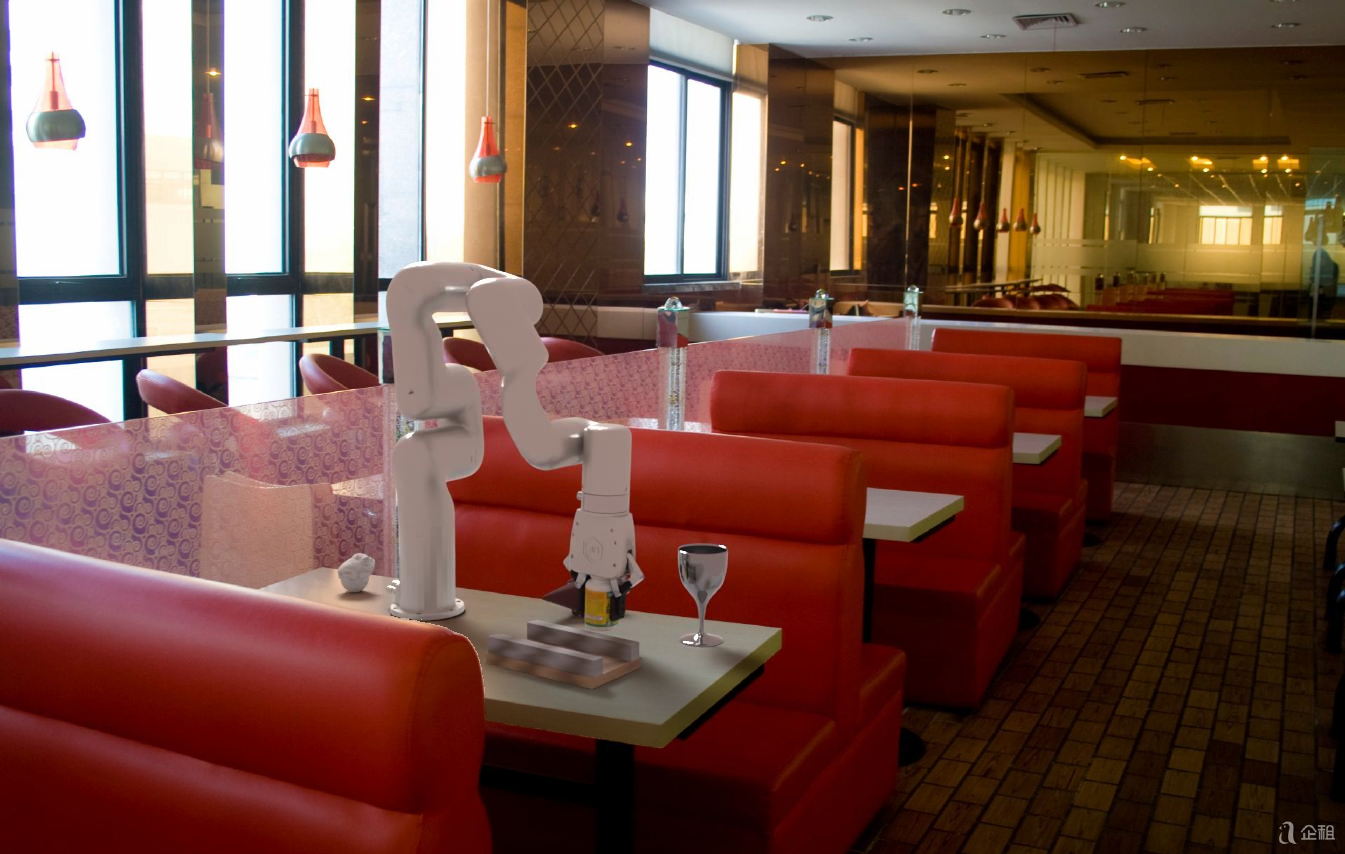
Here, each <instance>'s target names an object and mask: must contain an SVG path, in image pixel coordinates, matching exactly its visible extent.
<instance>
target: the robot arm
mask: <svg viewBox="0 0 1345 854" xmlns="http://www.w3.org/2000/svg"><path fill="white" fill-rule="evenodd" d="M542 297H543V296H542V295H541V292H540V291H539V289H538V288H537V286H536V285H535V284H534V283H532V282H531V281H529V280H528V279H526V278H523V277H521V276H517V275H513V274H510V273H507V272H504V271H501V270H497V269H495V268H492V267H488V266H485V265H482V264H479V263H473V262H459V261H442V260H439V261H438V260H425V261H424V260H423V261H419V262H414V263H410V264H408V265H406V266H404V267H403V268H401V269H399V270H398V272H397V273H396V274H395V275H393V278H392V279H391V281H390V283H389V284H388V287H387V290H386V295H385V309H386V312H385V313H386V317H387V323H388V327H389V332H390V333H389V334H390V338H391V349H392V350H391V351H392V366H393V379H394V380H393V381H394V391H395V401H396V406H397V409H398V412H399V413H400V415H402V417H403V418H405V419H406V420H408V421H413V422H428V421H436V423H437V424H436V425H437V427H429V428H423V429H417V430H414V431H410V432H408V433H406V434H405V435H403V436H401V437H400V438H399V439H398V440H397V441H396V443H395V445H394V446H393V448H392V451H391V456H390V457H391V461H390V463H391V469H392V474H393V479H394V482H395V483H394V484H395V488H396V499H397V525H398V531H397V532H398V580H397V579H396V580H393V581H392V582H391V584H390V585H388V586H387V587H386V590H385V591H386V593H387V594H390V595H394V599H395V601H394V602H393V603H391V604H390V605H389V613H390V614H391V613H393V614H391V615H392V616H393V617H395V616H398V617H402V618H409V619H412V620H411V621H421V622H422V621H438V620H444V619H449V618H453V617H456V616H459V615H461V614H462V613H463V612H464V611H465V602H464V601H463V600H461V599H460V598H457V597H456V512H455V506H454V505H455V504H454V501H453V498H452V495H451V494H450V491H449V489H448V486H447V483H448V482H451V481H455V480H461V479H464V478H467V477H470V476H472V475H474V474H475V473H476V472H477V471H478V470H479V469H480V467H481V465H482V463H483V461H484V455H485V438H484V424H483V422H484V421H483V408H482V405H483V404H482V394H481V390H480V389H481V388H480V386H479V383H478V381H477V379H476V377H475V375H474V374H473V372H472V371H471V370H470V369H469V368H467V367H466V366H464V365H462V364H459V363H453V362H450V363H448V362H446V361H445V360H446V359H445V352H444V341H443V337H442V333H441V330H440V328H439V326H438V324H437V323H436V320H435V319H434V318H433V315H435V314H436V313H467V315H468V317H469V319H470V321H471V324H472V325H473V326H474V328H475V330H476V332H477V334H478V336H479V338H480V339H481V342H482V343H483V345H484V347H485V350H486V351H487V352H488V354H489V357H490V358H491V361H492V363H493V364H494V366H495V368H496V369H497V371H498V373H499V375H500V379H501V385H500V406H501V407H500V408H501V409H500V410H501V415H502V419H503V423H504V425H505V428H506V429H507V431H508V434H509V435H510V438H511V439H512V440H513V443H514V445H515V446H516V448H517V449H518V452H519V453H520V455H521V456H522V458H523V459H524V460H525V461H526V462H527V463H528V464H529V465H530V466H531V467H533V468H536V469H538V470H541V471H550V470H557V469H559V468H565V467H571V466H577V465H579V464H580V465H582V466H581V467H582V471H581V490H579V491H578V492H577V493H576V499H577V500H579V501H581V502H580V508H577V509H576V512H575V514H574V518H573V523H572V528H571V536H570V545H569V553H568V555H567V556H566V557H565V558H564V560H563V565H564V566H565V568H566V569H567V571H568V572H570V576H571V577H572V578H573V579H574V580H575V582H576V583H575V585H576V587H577V588H579V595H578V605H579V609H578V612H579V613H581V614H583V613H584V614H585V586H586V582H587V581H588V580H589V579H591V577H590V575H592V576H596V577H601V578H606V579H610V580H611V585H612V589H613V594H614V595H613V596H611V597H610V617H609V619H610V621H616V620H618V621H619V620H621V619H624V618H625V616H626V615H625V614H626V607H627V604H626V603H627V594H629V593H630V591H631V590H632V589H633V588H634V587H636V586H637V585H638V584H639V583H641V582H642V581H643V580H644V579H645V575H644V573H643V572H642V570H641V568H640V566H639V565H638V563H637V562H636V532H635V525H634V520H633V513H631V512H630V498H631V497H630V496H631V495H630V494H631V492H630V490H631V469H632V467H631V466H632V442H633V441H632V438H633V437H632V436H633V435H632V431H631V429H630V428H629V427H628V426H626V425H623V424H620V423H619V424H618V423H606V422H605V423H604V422H603V423H600V422H597V421H593V420H591V419H587V418H584V417H577V416H574V417H572V416H571V417H566V418H559V419H557V418H556V419H551V420H550V418H549V417H548V415H547V413H546V411H545V409H544V407H543V406H542V404H541V402H540V399H539V397H538V396H539V395H538V392H537V385H536V383H537V377H538V374H539V372H540V371H541V370H542V369H543V368H544V367H545V366H546V365H547V363H548V361H549V357H550V355H549V351H548V348H547V347H546V346H545V344H544V342H543V341H542V338H541V337H540V335H539V333H538V331H537V329H536V327H535V326H534V325H536V324H537V323H538V322H539V321H540V319H541V318H542V315H543V312H544V302H543V298H542ZM628 575H629V576H630V577H629V578H628ZM584 614H583V615H584ZM398 617H397V618H398ZM421 619H422V620H421Z"/></svg>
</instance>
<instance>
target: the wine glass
mask: <svg viewBox="0 0 1345 854" xmlns="http://www.w3.org/2000/svg"><path fill="white" fill-rule="evenodd" d="M728 555H729V550H728V548H727V546H724V545H720V544H715V543H705V542H704V543H702V542H701V543H698V542H696V543H687V544H683V545H680V546H678V548H677V565H678V572H679V577H680V581H681V583H682V585H683V586H684V588H685V589H686V590H687V591H688V593H689V594H690V595H691V597H692V598H693V599H694V601H695V603H696V606H697V610H698V632H695V633H687V634H684V635H682V636H680V637H679V639H678V640H679V642H680V643H682V644H683V645H686V646H690V647H697V646H698V648H699V647H701V648H704V647H707V646H708V647H714V646H715V647H716V646H719V645H721V644H723V642H724V638H723V637H721V636H719V635H716V634H713V633H706V632H705V616H706V611H707V610H706V609H707V605H708V603H709V601H710V599H712V597H713V596H714V595H715V594H716V593H717V591H718V590H719V589H721V587H722V585H723V583H724V581H725V578H726V574H727V569H728V560H729V559H728V557H729V556H728Z"/></svg>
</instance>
